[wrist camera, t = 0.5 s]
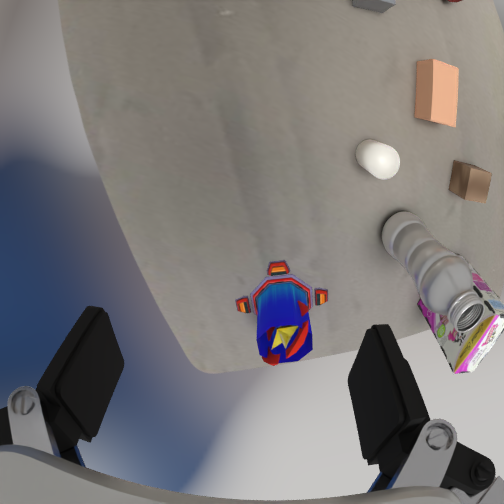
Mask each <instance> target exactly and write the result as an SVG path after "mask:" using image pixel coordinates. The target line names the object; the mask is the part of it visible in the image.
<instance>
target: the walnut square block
mask: <svg viewBox="0 0 504 504" xmlns="http://www.w3.org/2000/svg"><path fill="white" fill-rule="evenodd" d="M491 176H492V173H490V172H488V171H486V170H483V169H481V168H479V167H477V166H475V165H471V164H467V163H463V162H459V161H455V160H454V162H453V168H452V174H451V180H450V185H449V190H450V191H452V192H453V193H455V194H457V195H458V196H460V197H461V198H463V199H465V200H470V201H475V202H481V203H486V199H487V195H488V190H489V186H490V181H491Z"/></svg>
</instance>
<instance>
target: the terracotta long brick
mask: <svg viewBox="0 0 504 504" xmlns="http://www.w3.org/2000/svg"><path fill="white" fill-rule="evenodd" d="M457 99H458V68H456V67H454V66H451V65H449V64H446V63H443V62H441V61H438V60H435V59H429V60H423V61H417V81H416V103H415V118H419V119H423V120H427V121H431V122H435V123H439V124H443V125H448V126H452V127H455V126H456V114H457Z"/></svg>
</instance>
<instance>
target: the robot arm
mask: <svg viewBox="0 0 504 504" xmlns="http://www.w3.org/2000/svg"><path fill="white" fill-rule="evenodd" d="M123 368H124V359H123V356H122V354H121V351H120V348H119V346H118V343H117V340H116V337H115V334H114V331H113V328H112V325H111V322H110V319H109V316H108V313H107V312H105V311H104V309H103V308H100V307H94V306H88V307H87V308H86V309H85V310H84V312H83V313H82V314H81V316H80V317H79V319H78V320H77V322H76V323H75V325H74V326H73V328H72V329H71V331H70V332H69V334H68V335H67V337H66V338H65V340H64V342H63V343H62V345H61V346H60V348H59V349H58V351H57V353H56V354H55V356H54V357H53V359H52V361H51V362H50V364H49V366H48V367H47V369H46V371H45V372H44V374H43V376H42V377H41V379H40V381H39V383H38V384H37V388H36V390H34V389H33V388H31V387H27V386H24V387H20V388H18V389H16V390H15V391H13V392H12V394H11V395H10V397H9V399H8V406H7V407H4V408H2V409H0V504H504V481H503V480H502V478H501V477H500V476H498V477H497V478H496V477H495V467H494V464H493V462H492V461H491V460H490V459H489V458H487V457H486V456H484V455H482V454H480V453H478V452H476V451H474V450H472V449H470V448H468V447H466V446H464V445H462V444H461V443H459V442H457V433H456V431H455V428H454V427H453V426H452V425H451V423H449V422H447V421H446V420H443V419H433V420H430V418H429V415H428V412H427V409H426V406H425V404H424V401H423V398H422V396H421V393H420V390H419V388H418V385H417V383H416V380H415V378H414V375H413V373H412V370H411V368H410V365H409V363H408V361H407V360H406V359H404V358H403V355H402V353H401V350H400V348H399V346H398V343H397V341H396V339H395V337H394V334H393V332H392V330H391V328H390V326H389V325H388V324H383V325H373V326H372V327H371V329H367V331H366V333H365V336H364V339H363V341H362V344H361V346H360V349H359V351H358V354H357V357H356V359H355V361H354V364H353V366H352V368H351V371H350V373H349V376H348V386H349V391H350V396H351V400H352V405H353V410H354V415H355V419H356V424H357V430H358V434H359V440H360V445H361V451H362V456H363V458H364V459H367V462H368V465H373V464H379V469H380V473H379V475H378V476H377V478H376V479H375V481H374V482H373V484H372V485H371V487H370V489H369V490H368V492H367V493H362V494H355V495H348V496H340V497H331V498H321V499H308V500H285V501H263V500H238V499H225V498H215V497H206V496H198V495H191V494H185V493H179V492H173V491H168V490H163V489H159V488H154V487H149V486H145V485H141V484H137V483H133V482H130V481H126V480H122V479H119V478H116V477H113V476H109V475H106V474H103V473H100V472H97V471H94V470H91V469H89V468H86V466H85V463H84V461H83V459H82V456H81V454H80V451H79V448H78V446H77V443H78V440H79V439H82V440H85V441H87V442H91V440H92V437H95V436H96V435H97V433H98V431H99V428H100V425H101V423H102V420H103V417H104V415H105V412H106V410H107V407H108V404H109V402H110V400H111V397H112V395H113V392H114V389H115V387H116V385H117V382H118V380H119V378H120V375H121V373H122V371H123Z"/></svg>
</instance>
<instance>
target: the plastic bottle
mask: <svg viewBox="0 0 504 504" xmlns="http://www.w3.org/2000/svg"><path fill="white" fill-rule="evenodd" d="M382 241H383V244H384V247H385V249H386V251H387V252H388V253H389V254H390V255H391V256H392V257H393V258H394V259H396V260H397V261H399V262H400V264H401V265H402V266H403V267H404V268H405V269H406V270H407V271H408V273H409V275H410V276H411V278H412V280H413V281H414V283H415V286H416V288H417V290H418V293H419V295H420V297H421V300H422V301H423V303H424V305H425V306H426V307H427V308H428V309H429V310H431V311H432V312H434V313H437V314H441V315H447V318H448V320H449V322H450V323H451V324H452V325H453V326H454V328H455V330H456V331H457V332H459V333H464V332H467V331H469V330H471V329H472V328H473V327H475V326H476V325H477V324H478V322H479V321H480V320H481V318H482V316H483V314H484V310H485V307H484V304H483V302H482V301H481V300H480V299H479V296H478V294H477V293H476V292H475V291H474V290H473V276H472V272H471V270H470V267H469V265H468V263H467V262H466V261H465V260H463V259H462V258H461V257H459V256H458V255H456V254H455V253H453V252H452V251H450V250H449V249H447V248H446V247H445V246H443V245H442V244H441V243H440V242H439V241H437V240H436V239H435V238H434V237H433V235H432V234H431V233H430V232H429V231H428V229H427V228H426V226H425V224H424V223H423V221H422V220H421V219H420V218H419V217H418V216H417V215H415V214H413V213H410V212H406V211H403V212H398V213H396V214H394V215H393V216H391V217H390V218H389V219H388V220H387V222H386V223H385V225H384V228H383V231H382Z"/></svg>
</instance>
